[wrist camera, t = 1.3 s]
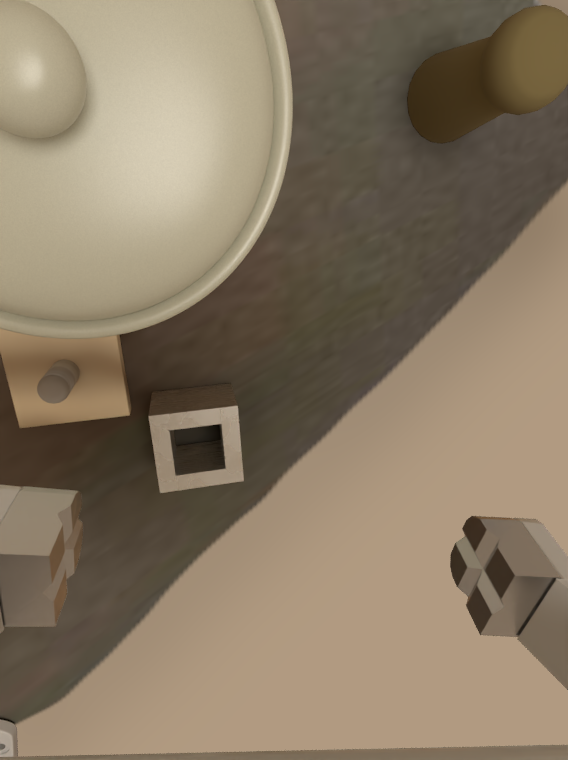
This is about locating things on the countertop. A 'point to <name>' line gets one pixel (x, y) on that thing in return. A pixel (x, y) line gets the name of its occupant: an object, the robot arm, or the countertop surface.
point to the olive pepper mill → (492, 76)
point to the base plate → (64, 378)
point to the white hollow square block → (198, 459)
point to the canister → (134, 156)
